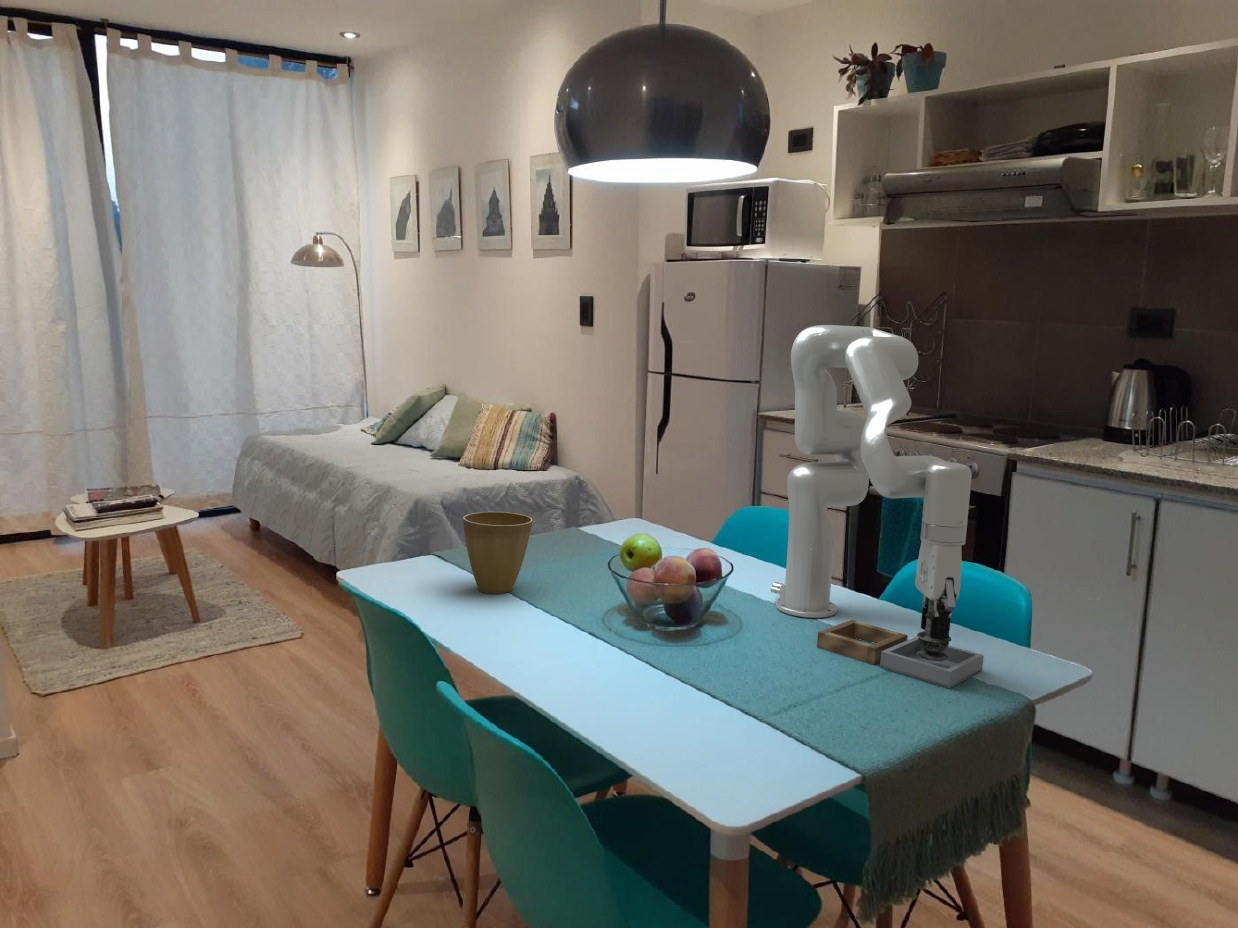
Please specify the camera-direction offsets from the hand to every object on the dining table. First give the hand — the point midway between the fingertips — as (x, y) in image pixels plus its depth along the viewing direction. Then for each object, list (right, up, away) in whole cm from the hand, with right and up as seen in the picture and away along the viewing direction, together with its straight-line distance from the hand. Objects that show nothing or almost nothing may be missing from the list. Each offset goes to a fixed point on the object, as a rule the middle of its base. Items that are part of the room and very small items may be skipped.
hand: (934, 632), depth 173 cm
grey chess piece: (0, -4, +1) cm, 5 cm away
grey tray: (0, -7, +1) cm, 7 cm away
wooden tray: (-10, -5, +11) cm, 16 cm away
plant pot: (-83, +2, +40) cm, 92 cm away
